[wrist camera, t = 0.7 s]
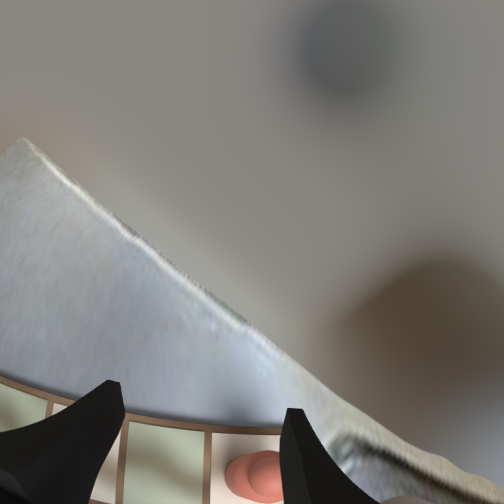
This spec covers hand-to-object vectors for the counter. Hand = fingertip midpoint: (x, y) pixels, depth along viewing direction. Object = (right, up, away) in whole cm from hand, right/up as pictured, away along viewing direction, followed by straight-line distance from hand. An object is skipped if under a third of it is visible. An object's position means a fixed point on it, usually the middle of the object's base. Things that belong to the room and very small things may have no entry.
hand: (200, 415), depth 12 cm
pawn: (+2, -13, +11) cm, 17 cm away
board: (-9, -12, +10) cm, 18 cm away
